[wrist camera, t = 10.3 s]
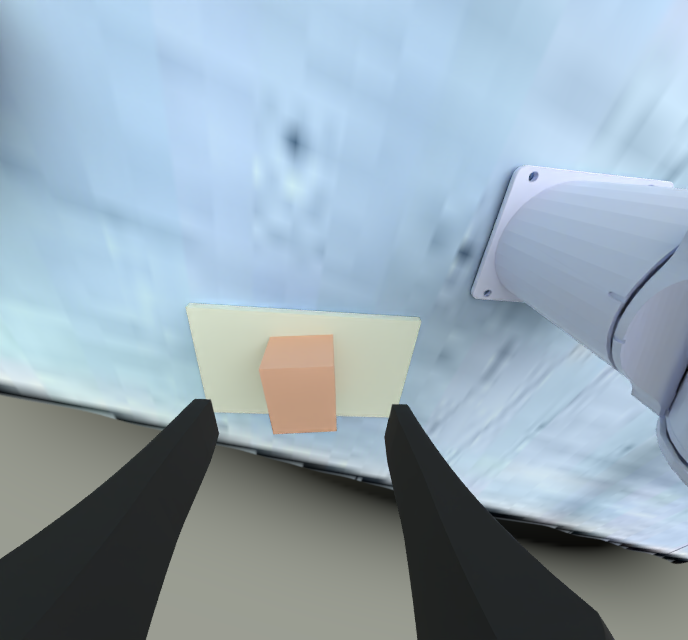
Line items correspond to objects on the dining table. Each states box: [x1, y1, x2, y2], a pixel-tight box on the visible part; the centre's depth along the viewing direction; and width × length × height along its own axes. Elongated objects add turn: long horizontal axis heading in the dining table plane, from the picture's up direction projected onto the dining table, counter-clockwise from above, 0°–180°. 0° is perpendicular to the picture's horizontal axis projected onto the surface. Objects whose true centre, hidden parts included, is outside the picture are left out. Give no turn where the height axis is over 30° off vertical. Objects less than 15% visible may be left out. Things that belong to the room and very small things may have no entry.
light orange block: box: [259, 334, 337, 434], centre depth 20 cm, size 6×4×4 cm
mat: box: [186, 303, 421, 417], centre depth 21 cm, size 16×10×1 cm, turn 85°
